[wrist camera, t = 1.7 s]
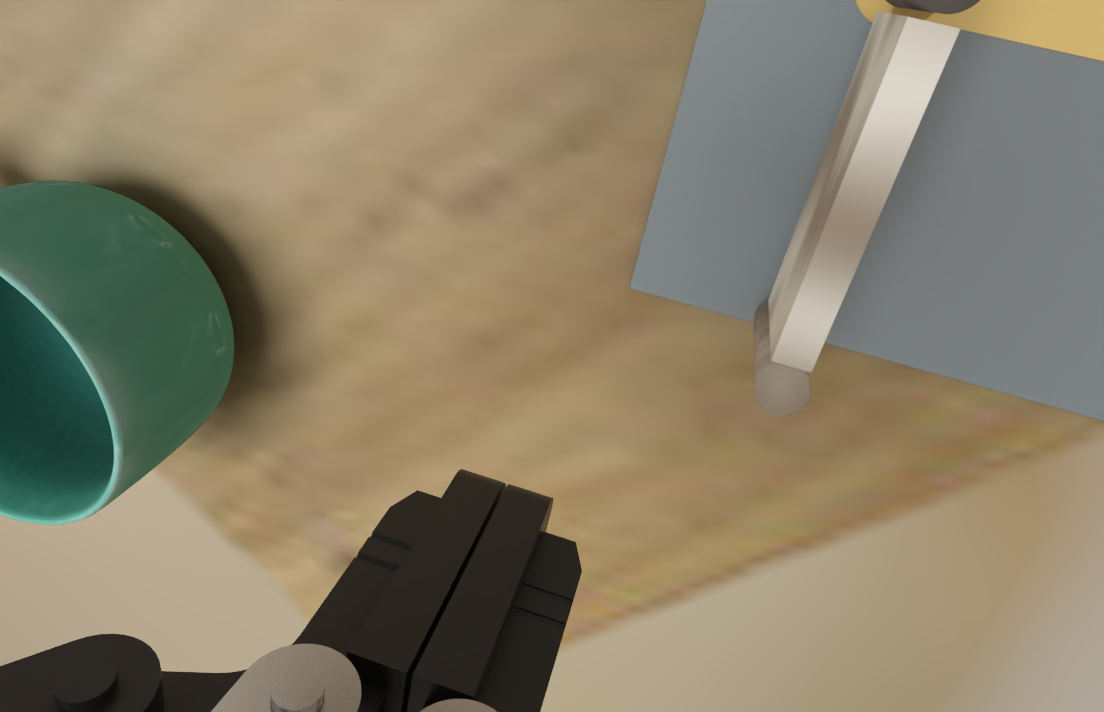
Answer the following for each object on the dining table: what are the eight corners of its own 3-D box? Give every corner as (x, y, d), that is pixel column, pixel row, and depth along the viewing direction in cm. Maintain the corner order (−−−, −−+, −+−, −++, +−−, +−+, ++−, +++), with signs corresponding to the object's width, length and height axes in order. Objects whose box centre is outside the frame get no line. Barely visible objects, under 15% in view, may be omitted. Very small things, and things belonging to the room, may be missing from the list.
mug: (321, 322, 33) (178, 434, 25) (188, 449, 39) (36, 573, 31) (34, 24, 30) (-240, 38, 22) (-64, 210, 36) (-308, 277, 27)
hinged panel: (893, -61, 21) (935, -75, 16) (950, -49, 20) (1011, -59, 16) (748, 330, 27) (746, 407, 22) (791, 343, 27) (799, 422, 22)
